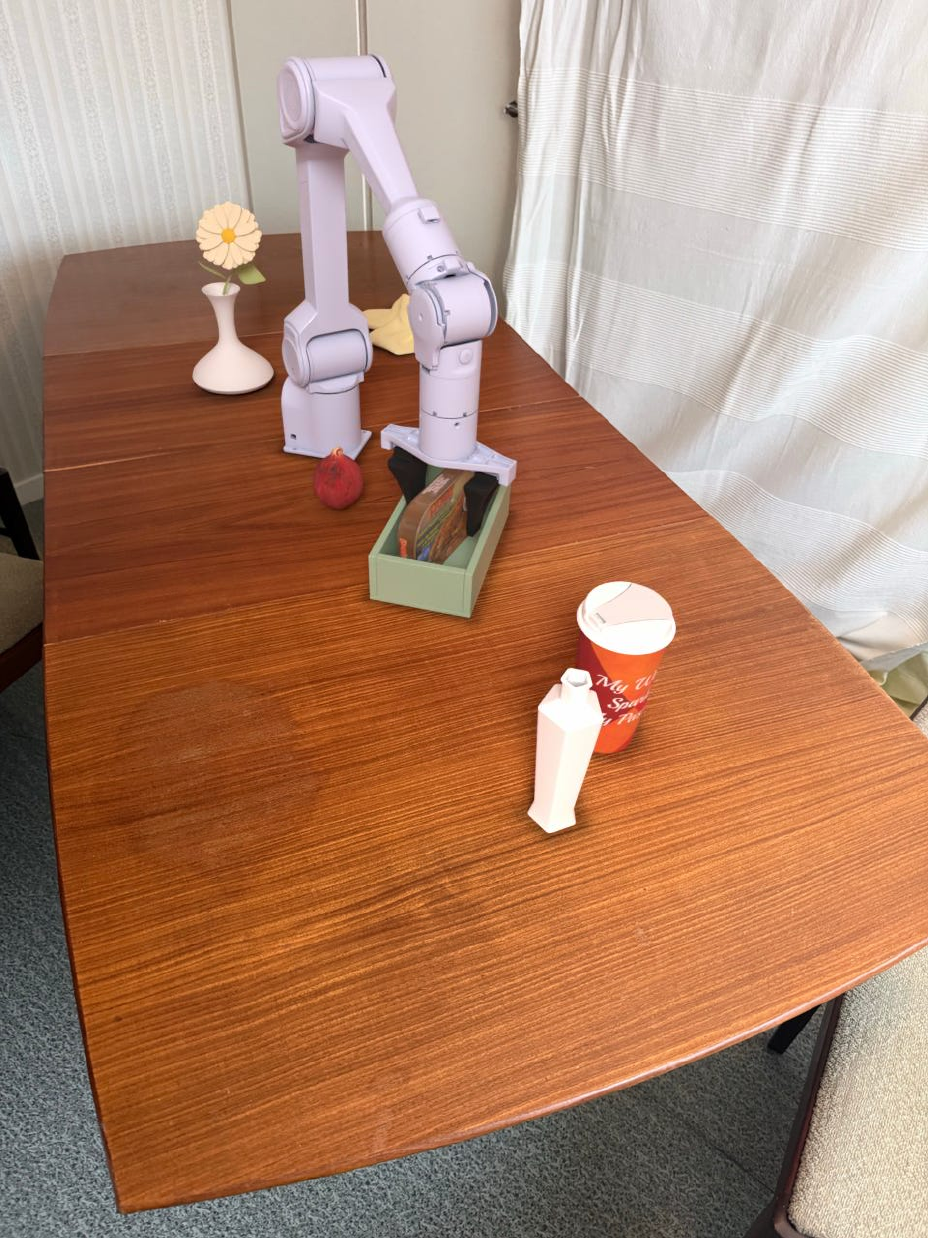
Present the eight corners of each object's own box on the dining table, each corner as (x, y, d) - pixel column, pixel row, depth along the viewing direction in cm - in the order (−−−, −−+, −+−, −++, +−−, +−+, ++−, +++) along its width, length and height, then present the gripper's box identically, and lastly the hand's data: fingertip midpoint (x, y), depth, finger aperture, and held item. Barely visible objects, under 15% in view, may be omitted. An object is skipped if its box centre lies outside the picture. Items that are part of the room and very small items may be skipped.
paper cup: (589, 775, 69) (617, 653, 60) (541, 713, 74) (560, 592, 65) (664, 744, 72) (701, 623, 63) (613, 687, 77) (640, 567, 68)
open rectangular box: (369, 599, 85) (368, 556, 82) (422, 499, 100) (422, 459, 96) (469, 618, 84) (472, 575, 80) (508, 514, 98) (512, 474, 95)
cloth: (485, 347, 135) (487, 309, 131) (377, 362, 129) (375, 323, 125) (433, 299, 150) (434, 264, 146) (334, 311, 144) (332, 274, 140)
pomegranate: (356, 526, 95) (353, 464, 90) (308, 518, 96) (302, 457, 91) (370, 499, 99) (368, 439, 94) (324, 492, 100) (319, 432, 95)
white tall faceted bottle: (519, 790, 68) (537, 656, 58) (571, 788, 68) (598, 654, 58) (526, 838, 64) (547, 704, 54) (582, 835, 65) (613, 702, 55)
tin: (417, 591, 86) (418, 523, 80) (391, 581, 87) (390, 514, 81) (483, 520, 96) (487, 456, 91) (459, 513, 97) (461, 448, 92)
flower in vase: (178, 392, 118) (140, 202, 102) (224, 362, 126) (196, 181, 110) (256, 411, 115) (231, 218, 99) (299, 379, 123) (282, 196, 107)
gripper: (534, 407, 81) (521, 523, 89) (405, 372, 85) (405, 486, 94) (503, 437, 76) (493, 557, 85) (368, 398, 80) (372, 516, 89)
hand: (444, 522), depth 89 cm, fingers open, 6 cm apart
